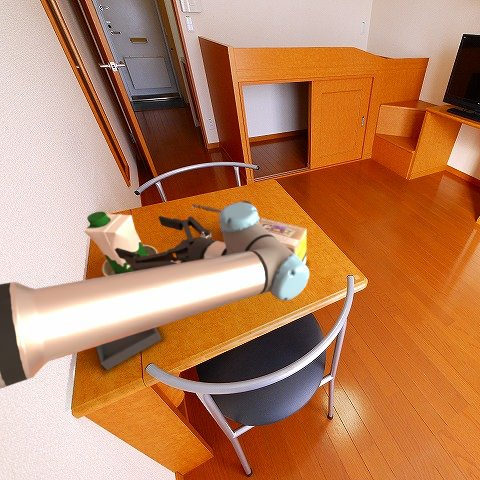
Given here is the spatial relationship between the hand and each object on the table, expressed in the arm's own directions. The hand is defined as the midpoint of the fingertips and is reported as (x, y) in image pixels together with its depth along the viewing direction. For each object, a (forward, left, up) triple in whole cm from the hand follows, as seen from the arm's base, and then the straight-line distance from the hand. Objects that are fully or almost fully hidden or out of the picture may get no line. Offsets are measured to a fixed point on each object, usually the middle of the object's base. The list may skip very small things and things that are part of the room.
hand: (141, 235), depth 70 cm
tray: (-12, -14, -17) cm, 25 cm away
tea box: (+29, -18, -17) cm, 38 cm away
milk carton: (-5, +8, -17) cm, 19 cm away
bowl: (-5, +8, -17) cm, 20 cm away
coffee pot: (+25, +4, -17) cm, 31 cm away
